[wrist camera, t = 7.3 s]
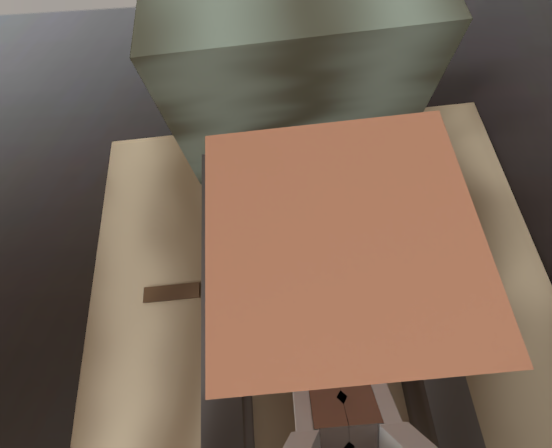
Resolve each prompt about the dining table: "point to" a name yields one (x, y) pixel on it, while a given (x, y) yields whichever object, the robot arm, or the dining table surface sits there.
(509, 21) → the dining table surface
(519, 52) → the dining table surface
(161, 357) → the press rig
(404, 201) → the large salmon-pink box
